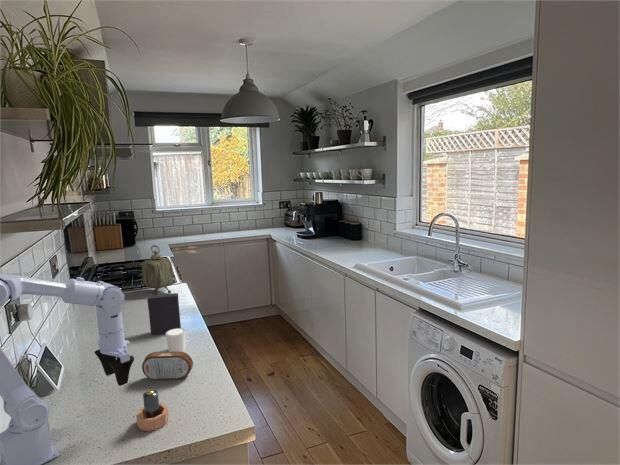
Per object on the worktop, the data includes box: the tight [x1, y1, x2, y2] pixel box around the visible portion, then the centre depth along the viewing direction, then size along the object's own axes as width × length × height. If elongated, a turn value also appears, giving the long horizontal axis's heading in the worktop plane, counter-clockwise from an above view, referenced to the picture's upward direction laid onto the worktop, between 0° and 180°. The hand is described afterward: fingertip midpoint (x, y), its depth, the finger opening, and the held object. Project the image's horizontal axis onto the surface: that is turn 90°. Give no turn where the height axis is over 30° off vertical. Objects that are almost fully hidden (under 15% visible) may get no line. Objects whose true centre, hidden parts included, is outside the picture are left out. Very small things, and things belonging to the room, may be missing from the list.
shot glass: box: [164, 327, 187, 352], centre depth 144 cm, size 7×7×7 cm
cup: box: [135, 402, 170, 432], centre depth 105 cm, size 7×7×3 cm
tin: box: [141, 351, 194, 381], centre depth 126 cm, size 15×3×8 cm, turn 92°
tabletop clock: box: [140, 244, 174, 295], centre depth 207 cm, size 14×9×25 cm, turn 53°
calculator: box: [147, 292, 182, 336], centre depth 160 cm, size 11×4×15 cm, turn 104°
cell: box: [142, 389, 160, 418], centre depth 104 cm, size 4×4×8 cm
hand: (116, 379), depth 106 cm, fingers open, 7 cm apart
